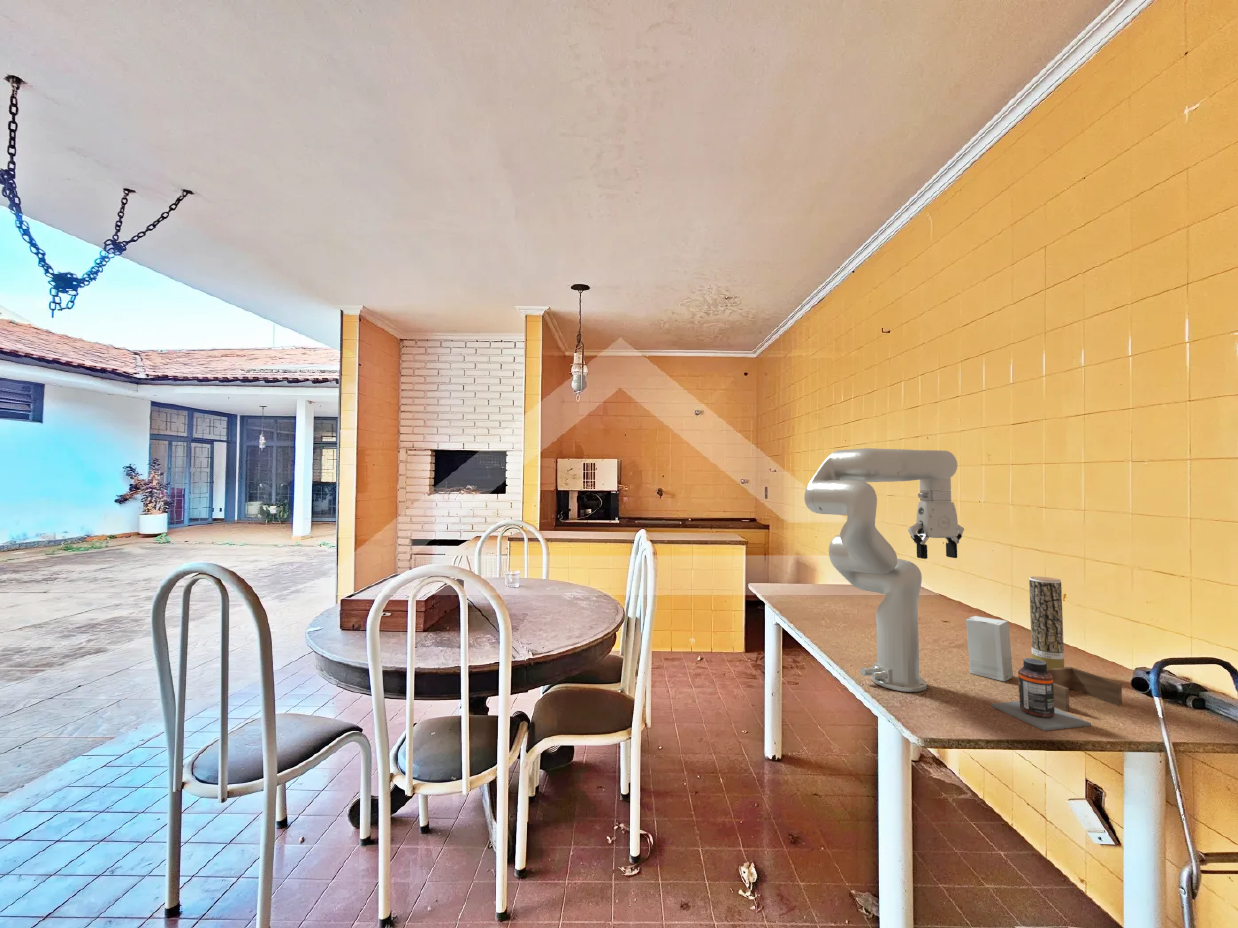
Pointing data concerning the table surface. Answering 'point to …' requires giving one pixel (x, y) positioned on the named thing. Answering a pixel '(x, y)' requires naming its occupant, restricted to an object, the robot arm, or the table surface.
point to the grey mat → (1052, 723)
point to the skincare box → (989, 648)
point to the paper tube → (1046, 621)
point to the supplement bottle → (1036, 689)
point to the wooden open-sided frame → (1082, 686)
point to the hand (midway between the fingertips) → (937, 557)
